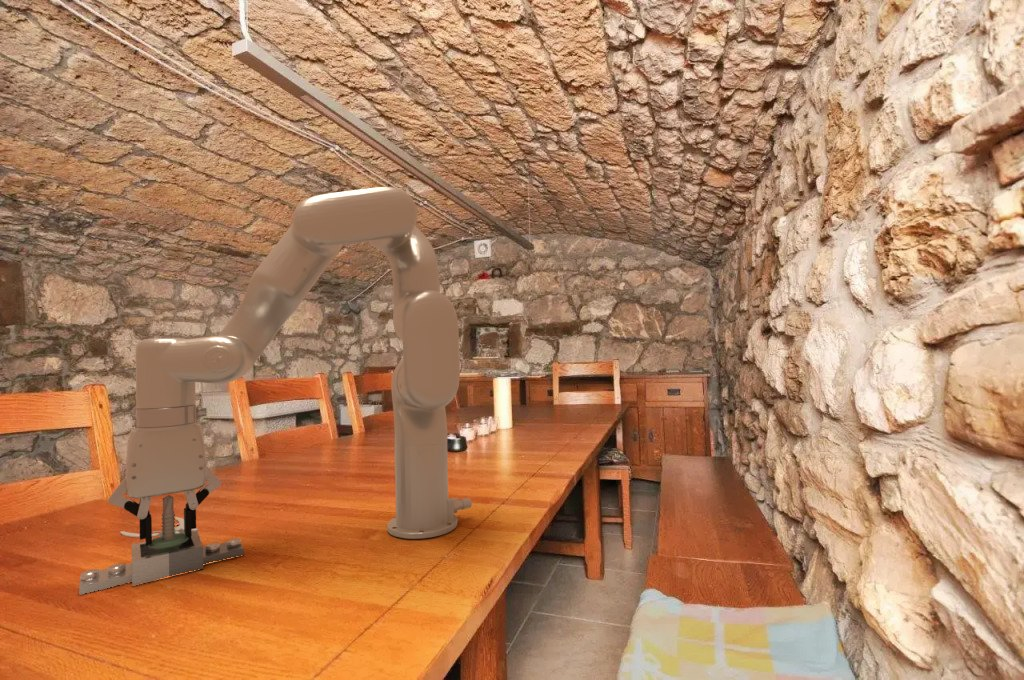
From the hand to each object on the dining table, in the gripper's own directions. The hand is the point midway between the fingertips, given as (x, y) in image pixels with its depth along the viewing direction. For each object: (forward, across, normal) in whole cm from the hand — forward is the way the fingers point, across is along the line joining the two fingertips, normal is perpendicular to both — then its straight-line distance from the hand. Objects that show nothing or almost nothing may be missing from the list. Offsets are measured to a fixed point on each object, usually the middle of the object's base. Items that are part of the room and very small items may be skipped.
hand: (168, 537), depth 76 cm
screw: (+3, 0, 0) cm, 3 cm away
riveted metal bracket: (+5, 0, 0) cm, 5 cm away
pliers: (+5, -1, -20) cm, 20 cm away
